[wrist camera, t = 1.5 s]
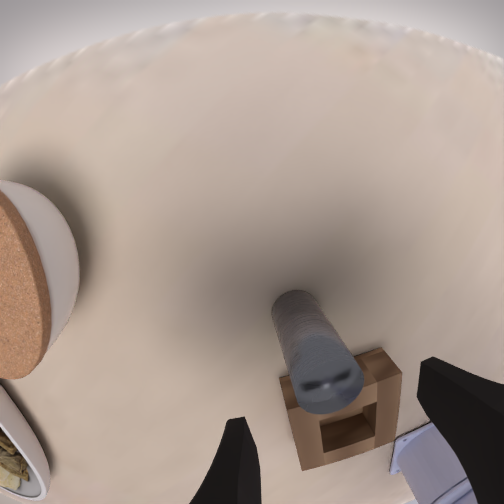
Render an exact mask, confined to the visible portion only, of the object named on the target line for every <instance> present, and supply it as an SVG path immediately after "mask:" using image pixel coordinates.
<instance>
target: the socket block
mask: <svg viewBox="0 0 504 504" xmlns="http://www.w3.org/2000/svg"><path fill="white" fill-rule="evenodd" d="M354 359H355V360H356V362H357V364H358V365H359V367H360V368H361V370H362V372H363V374H364V385H363V388H362V390H361V392H360V394H359V395H358V397H357V398H356V399H355V400H354V401H353V402H352V403H351V404H349V405H348V406H346V407H345V408H343V409H341V410H339V411H336V412H333V413H330V414H322V415H320V414H312V413H309V412H306V411H305V410H303V409H302V408H301V407H300V406H299V404H298V402H297V399H296V396H295V392H294V389H293V386H292V382H291V379H290V375H289V376H285V377H281V378H279V380H280V384H281V388H282V392H283V396H284V400H285V404H286V409H287V413H288V417H289V421H290V425H291V429H292V433H293V437H294V441H295V445H296V449H297V453H298V457H299V461H300V465H301V469H302V471H304V470H308V469H312V468H316V467H320V466H323V465H327V464H330V463H334V462H337V461H340V460H343V459H346V458H349V457H352V456H355V455H358V454H361V453H364V452H367V451H369V450H372V449H375V448H377V447H380V446H382V445H385V444H387V443H390V442H392V441H394V440H395V434H396V428H397V420H398V412H399V404H400V394H401V382H402V372H401V370H400V369H399V368H398V367H397V366H396V364H395V363H394V362H393V361H392V359H391V358H390V357H389V356H388V355H387V353H386V352H385V351H384V350H383V349H382V347H381V348H378V349H375V350H372V351H370V352H367V353H364V354H361V355H358V356H355V357H354Z"/></svg>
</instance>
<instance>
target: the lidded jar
mask: <svg viewBox="0 0 504 504" xmlns="http://www.w3.org/2000/svg"><path fill="white" fill-rule="evenodd" d="M79 280H80V268H79V258H78V251H77V247H76V244H75V240H74V237H73V235H72V232H71V229H70V228H69V226H68V224H67V222H66V220H65V218H64V217H63V215H62V214H61V213H60V211H59V210H58V208H57V207H56V206H55V205H54V204H53V203H52V202H51V201H50V200H49V199H48V198H46V197H45V196H44V195H43V194H41V193H40V192H38V191H37V190H35V189H33V188H31V187H29V186H26V185H23V184H20V183H16V182H12V181H6V180H0V378H4V379H19V378H23V377H25V376H26V375H28V374H30V373H31V372H32V370H33V369H34V368H35V367H36V366H37V365H38V364H39V363H40V362H41V360H42V358H43V357H44V355H45V353H46V352H47V351H48V349H49V348H50V347H51V346H52V345H53V344H54V342H55V341H56V340H57V338H58V337H59V335H60V334H61V332H62V331H63V329H64V327H65V326H66V324H67V322H68V320H69V318H70V316H71V314H72V311H73V309H74V306H75V303H76V298H77V294H78V289H79Z"/></svg>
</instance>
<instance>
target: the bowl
mask: <svg viewBox="0 0 504 504" xmlns="http://www.w3.org/2000/svg"><path fill="white" fill-rule="evenodd" d="M49 487H50V470H49V466H48V462H47V459H46V456H45V454H44V451H43V449H42V447H41V445H40V443H39V441H38V439H37V438H36V436H35V434H34V432H33V431H32V429H31V427H30V426H29V424H28V423H27V421H26V419H25V418H24V416H23V415H22V413H21V412H20V411H19V409H18V408H17V406H16V405H15V403H14V402H13V401H12V399H11V398H10V396H9V395H8V394H7V392H6V391H5V390H4V388H3V387H2V386H1V384H0V488H2V489H4V490H6V491H8V492H10V493H12V494H14V495H16V496H19V497H21V498H25V499H28V500H35V501H38V500H42V499H44V498H45V497H46V495H47V493H48V490H49Z"/></svg>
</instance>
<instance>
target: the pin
mask: <svg viewBox="0 0 504 504" xmlns="http://www.w3.org/2000/svg"><path fill="white" fill-rule="evenodd" d="M272 318H273V321H274V325H275V328H276V332H277V335H278V338H279V342H280V345H281V348H282V352H283V355H284V359H285V362H286V365H287V369H288V372H289V375H290V379H291V382H292V386H293V389H294V392H295V396H296V399H297V402H298V404H299V406H300V407H301V408H302V409H303V410H305V411H306V412H309V413H312V414H320V415H322V414H330V413H333V412H336V411H339V410H341V409H343V408H345V407H346V406H348V405H349V404H351V403H352V402H353V401H354V400H355V399H356V398H357V397H358V395H359V394H360V392H361V390H362V388H363V385H364V374H363V372H362V370H361V368H360V367H359V365H358V364H357V362H356V360H355V359H354V357H353V356H352V354H351V353H350V351H349V350H348V348H347V347H346V345H345V344H344V342H343V341H342V339H341V338H340V336H339V335H338V333H337V332H336V330H335V329H334V327H333V326H332V324H331V323H330V321H329V320H328V318H327V317H326V315H325V314H324V312H323V311H322V309H321V308H320V306H319V305H318V303H317V302H316V300H315V299H314V298H313V296H312V295H310V294H309V293H307V292H305V291H301V290H293V291H289V292H287V293H285V294H283V295H281V296H280V297H279V298H278V299H277V300H276V302H275V304H274V306H273V309H272Z"/></svg>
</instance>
